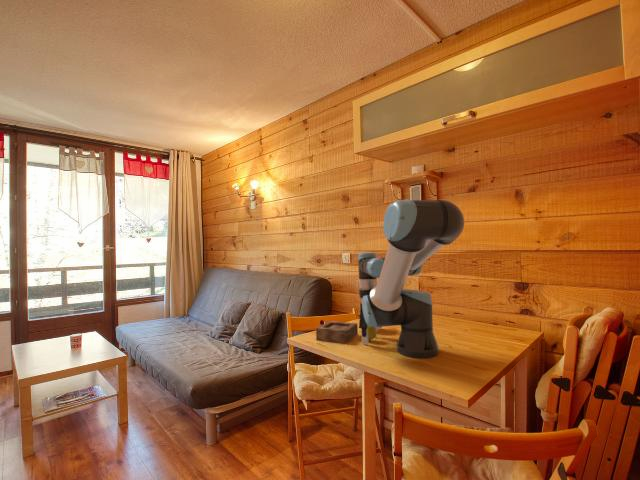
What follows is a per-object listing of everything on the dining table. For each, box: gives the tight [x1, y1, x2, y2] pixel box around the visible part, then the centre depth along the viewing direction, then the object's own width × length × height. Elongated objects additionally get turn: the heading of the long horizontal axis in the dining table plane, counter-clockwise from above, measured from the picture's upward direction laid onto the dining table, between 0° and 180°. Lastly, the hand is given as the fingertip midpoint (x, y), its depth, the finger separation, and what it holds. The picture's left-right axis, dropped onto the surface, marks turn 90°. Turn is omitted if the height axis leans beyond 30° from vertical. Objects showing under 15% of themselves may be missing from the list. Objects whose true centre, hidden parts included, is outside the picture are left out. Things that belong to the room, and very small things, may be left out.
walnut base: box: [315, 320, 359, 344], centre depth 146 cm, size 14×14×5 cm
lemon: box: [367, 326, 376, 342], centre depth 139 cm, size 6×6×8 cm
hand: (369, 340), depth 139 cm, fingers open, 10 cm apart
